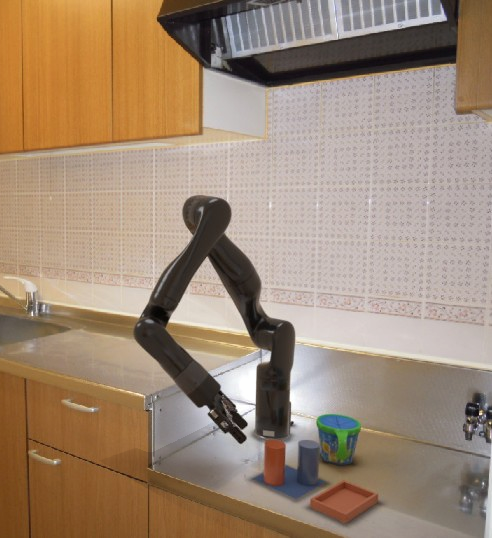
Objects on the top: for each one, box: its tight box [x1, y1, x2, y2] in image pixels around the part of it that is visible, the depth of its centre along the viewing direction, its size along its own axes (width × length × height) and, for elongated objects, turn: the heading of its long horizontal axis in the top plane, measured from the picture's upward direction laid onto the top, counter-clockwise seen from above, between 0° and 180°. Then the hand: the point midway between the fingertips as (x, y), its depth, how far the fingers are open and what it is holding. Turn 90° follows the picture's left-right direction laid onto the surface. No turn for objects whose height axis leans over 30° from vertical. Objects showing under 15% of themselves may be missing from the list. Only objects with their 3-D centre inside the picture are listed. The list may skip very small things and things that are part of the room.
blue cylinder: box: [296, 439, 321, 486], centre depth 132 cm, size 5×5×9 cm
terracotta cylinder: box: [263, 440, 287, 486], centre depth 132 cm, size 5×5×9 cm
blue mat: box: [252, 464, 327, 500], centre depth 133 cm, size 12×12×1 cm
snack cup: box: [315, 413, 362, 466], centre depth 144 cm, size 16×10×10 cm
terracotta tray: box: [309, 479, 379, 524], centre depth 122 cm, size 13×8×2 cm, turn 130°
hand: (244, 434), depth 133 cm, fingers open, 8 cm apart
